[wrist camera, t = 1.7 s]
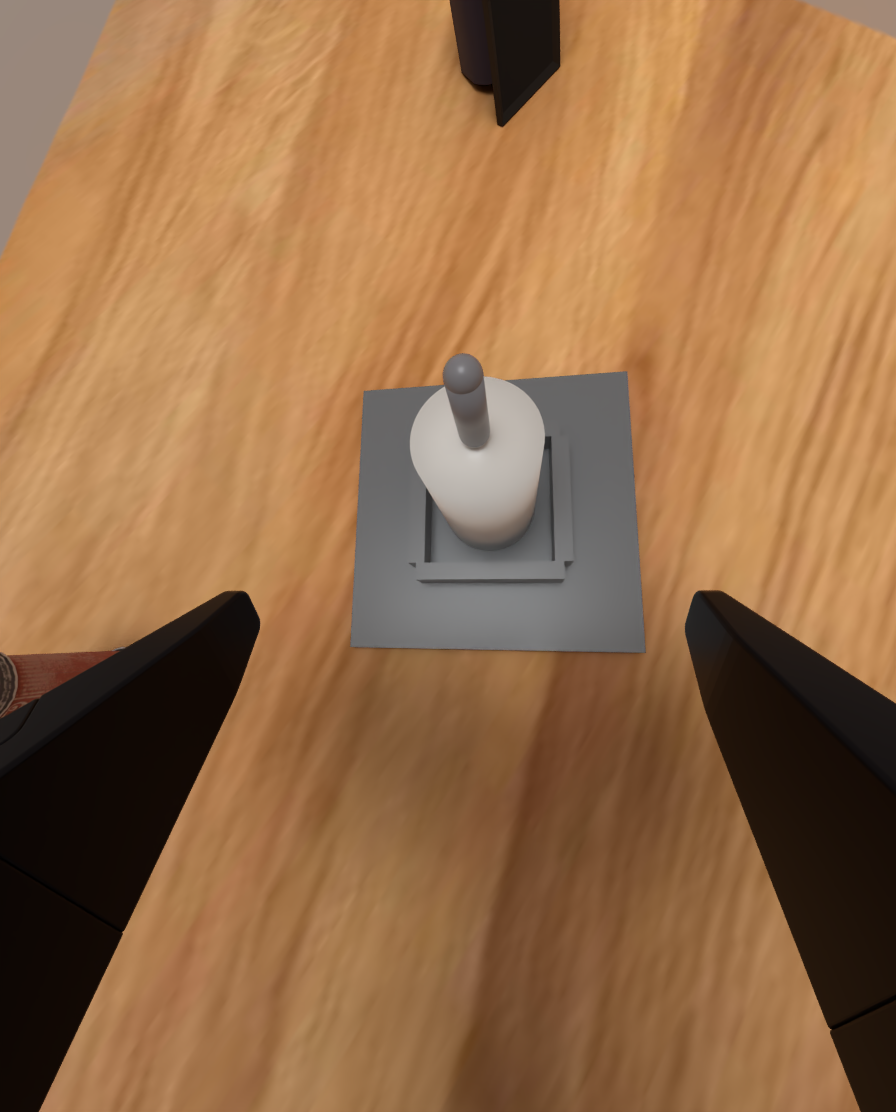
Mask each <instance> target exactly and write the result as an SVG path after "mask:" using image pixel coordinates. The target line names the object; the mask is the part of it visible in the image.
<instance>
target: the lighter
mask: <svg viewBox="0 0 896 1112" xmlns="http://www.w3.org/2000/svg"><path fill="white" fill-rule="evenodd" d="M124 648H126V647H120V648H117V649H114V650H112V651H102V652H79V653H55V654H31V655H8V656H6V655H5V654H3V653H2V652H0V718H2V717H4V716H6V715H8V714H9V713H11V712H13V711H15V710H17V709H18V708H20V707H22V706H24V705H25V704H27V703H29V702H31V701H32V700H34V699H36V698H40V697H41V696H42V695H43V694H45V693H47V692H48V691H50V690H52V689H54V688H56V687H57V686H59V685H61V684H63V683H64V682H66V681H68V680H70V679H71V678H73V677H75V676H77V675H78V674H80V673H82V672H84V671H85V670H87V669H89V668H91V667H93V666H94V665H96V664H98V663H100V662H101V661H103V660H105V659H107V658H108V657H110V656H112V655H114V654H115V653H117V652H119V651H121V650H122V649H124Z"/></svg>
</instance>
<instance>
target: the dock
mask: <svg viewBox="0 0 896 1112" xmlns="http://www.w3.org/2000/svg"><path fill="white" fill-rule="evenodd" d="M505 381H507V382H509V383H511V384H513V385H515V386H517V387H518V388H520V389H521V390H523V391H524V392H525V393H526V394H527V395H528V396H529V397H530V398H531V399H532V401H533V402H534V403H535V405H536V406H537V408H538V410H539V412H540V414H541V417H542V420H543V424H544V431H545V443H544V450H543V456H542V463H541V469H540V476H539V482H538V489H537V495H536V502H535V509H534V515H533V519H532V522H531V525H530V527H529V529H528V530H527V532H526V533H525V534H524V535H523V537H522V538H521V539H519V540H518V541H517V542H516V543H514V544H513V545H511V546H509V547H506V548H504V549H500V550H495V551H484V550H478V549H475V548H472V547H470V546H468V545H467V544H465V543H463V542H462V541H461V540H460V539H459V538H458V537H457V536H456V535H455V533H454V532H453V530H452V529H451V527H450V526H449V524H448V522H447V521H446V519H445V517H444V516H443V514H442V512H441V511H440V509H439V507H438V506H437V504H436V503H435V501H434V499H433V498H432V496H431V494H430V493H429V491H428V489H427V488H426V486H425V484H424V483H423V481H422V480H421V478H420V476H419V475H418V473H417V471H416V469H415V467H414V464H413V461H412V458H411V452H410V435H411V430H412V426H413V423H414V421H415V418H416V416H417V414H418V412H419V411H420V409H421V408H422V406H423V405H424V404H425V402H426V401H427V400H428V399H429V398H430V397H431V396H432V395H433V394H435V393H436V392H437V391H439V390H440V389H441V388H443V387H445V385H438V386H425V387H412V388H398V389H385V390H371V391H364V396H363V415H362V435H361V454H360V473H359V492H358V511H357V530H356V550H355V569H354V588H353V607H352V626H351V645H350V647H378V648H429V649H481V650H532V651H584V652H635V653H646V651H645V636H644V621H643V605H642V590H641V575H640V560H639V544H638V529H637V514H636V498H635V483H634V468H633V452H632V437H631V422H630V407H629V391H628V376H627V371H626V372H612V373H599V374H585V375H572V376H559V377H545V378H532V379H519V380H505Z"/></svg>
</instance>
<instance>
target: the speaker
mask: <svg viewBox="0 0 896 1112" xmlns="http://www.w3.org/2000/svg"><path fill="white" fill-rule="evenodd" d="M450 6H451V12H452V18H453V24H454V30H455V35H456V41H457V47H458V53H459V59H460V65H461V71H462V73H463V74H464V75H465V76H466V77H467V78H469V79H470V80H471V81H472V82H473V83H474V84H480V85H489V84H493V92H494V100H495V108H496V116H497V124H498V125H500V126H503V125H504V124H505V123H506V122H507V121H508V120H509V119H510V118H511V117H512V116H513V115H514V114H515V113H516V112H517V111H518V110H519V109H520V107H521V106H522V105H523V104H524V103H525V102H526V101H527V100H528V99H529V98H530V97H531V96H532V95H533V94H534V93H535V92H536V91H537V90H538V89H539V88H540V87H541V85H542V84H543V83H544V82H545V81H546V80H547V79H548V78H549V77H550V76H551V75H552V74H553V73H554V72H555V71H556V70H557V69H558V68H559V67H560V9H559V0H450Z"/></svg>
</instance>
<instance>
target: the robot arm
mask: <svg viewBox="0 0 896 1112" xmlns="http://www.w3.org/2000/svg"><path fill="white" fill-rule="evenodd" d="M259 630H260V619H259V616H258V614H257V612H256V610H255V608H254V605H253V603H252V601H251V599H250V597H249V595H248V594H247V593H246V592H244V591H225V592H223V593H221V594H219V595H218V596H216V597H214V598H212V599H211V600H209V601H207V602H205V603H203V604H202V605H200V606H198V607H196V608H195V609H193V610H191V611H189V612H188V613H186V614H184V615H182V616H181V617H179V618H177V619H175V620H174V621H172V622H170V623H168V624H166V625H165V626H163V627H161V628H159V629H158V630H156V631H154V632H152V633H151V634H149V635H147V636H145V637H144V638H142V639H140V640H138V641H137V642H135V643H133V644H131V645H130V646H128V647H126V648H124V649H122V650H121V651H119V652H117V653H115V654H114V655H112V656H110V657H108V658H107V659H105V660H103V661H101V662H100V663H98V664H96V665H94V666H93V667H91V668H89V669H87V670H85V671H84V672H82V673H80V674H78V675H77V676H75V677H73V678H71V679H70V680H68V681H66V682H64V683H63V684H61V685H59V686H57V687H56V688H54V689H52V690H50V691H48V692H47V693H45V694H43V695H42V696H41V697H40V698H36V699H34V700H32V701H31V702H29V703H27V704H25V705H24V706H22V707H20V708H18V709H17V710H15V711H13V712H11V713H9V714H8V715H6V716H4V717H2V718H0V1112H39V1110H40V1108H41V1106H42V1104H43V1102H44V1100H45V1098H46V1096H47V1094H48V1092H49V1089H50V1087H51V1085H52V1083H53V1081H54V1079H55V1077H56V1075H57V1073H58V1070H59V1068H60V1066H61V1064H62V1062H63V1060H64V1058H65V1056H66V1054H67V1051H68V1049H69V1047H70V1045H71V1043H72V1041H73V1039H74V1037H75V1035H76V1032H77V1030H78V1028H79V1026H80V1024H81V1022H82V1020H83V1018H84V1016H85V1013H86V1011H87V1009H88V1007H89V1005H90V1003H91V1001H92V999H93V997H94V994H95V992H96V990H97V988H98V986H99V984H100V982H101V980H102V977H103V975H104V973H105V971H106V969H107V967H108V965H109V963H110V961H111V958H112V956H113V954H114V952H115V950H116V948H117V946H118V944H119V942H120V939H121V937H122V935H123V933H122V932H123V931H124V930H125V928H126V926H127V924H128V922H129V920H130V918H131V916H132V914H133V911H134V909H135V907H136V905H137V903H138V901H139V899H140V897H141V895H142V892H143V890H144V888H145V886H146V884H147V882H148V880H149V878H150V876H151V873H152V871H153V869H154V867H155V865H156V863H157V861H158V859H159V857H160V854H161V852H162V850H163V848H164V846H165V844H166V842H167V840H168V838H169V835H170V833H171V831H172V829H173V827H174V825H175V823H176V821H177V819H178V817H179V814H180V812H181V810H182V808H183V806H184V804H185V802H186V800H187V798H188V795H189V793H190V791H191V789H192V787H193V785H194V783H195V781H196V779H197V776H198V774H199V772H200V770H201V768H202V766H203V764H204V762H205V760H206V757H207V755H208V753H209V751H210V749H211V747H212V745H213V743H214V741H215V738H216V736H217V734H218V732H219V730H220V728H221V726H222V724H223V722H224V719H225V717H226V715H227V713H228V711H229V709H230V707H231V705H232V703H233V700H234V698H235V696H236V694H237V691H238V689H239V686H240V683H241V681H242V678H243V675H244V672H245V670H246V667H247V664H248V661H249V658H250V655H251V653H252V650H253V647H254V644H255V641H256V639H257V636H258V633H259ZM685 635H686V639H687V643H688V647H689V651H690V655H691V658H692V662H693V666H694V670H695V674H696V678H697V682H698V686H699V690H700V694H701V697H702V701H703V704H704V708H705V711H706V714H707V717H708V719H709V722H710V725H711V727H712V730H713V733H714V735H715V738H716V740H717V743H718V745H719V748H720V751H721V753H722V756H723V758H724V761H725V763H726V766H727V769H728V771H729V774H730V776H731V779H732V781H733V784H734V787H735V789H736V792H737V794H738V797H739V799H740V802H741V805H742V807H743V810H744V812H745V815H746V817H747V820H748V822H749V825H750V828H751V830H752V833H753V835H754V838H755V840H756V843H757V846H758V848H759V851H760V853H761V856H762V858H763V861H764V864H765V866H766V869H767V871H768V874H769V876H770V879H771V882H772V884H773V887H774V889H775V892H776V894H777V897H778V900H779V902H780V905H781V907H782V910H783V912H784V915H785V918H786V920H787V923H788V925H789V928H790V930H791V933H792V936H793V938H794V941H795V943H796V946H797V948H798V951H799V953H800V956H801V959H802V961H803V964H804V966H805V969H806V971H807V974H808V977H809V979H810V982H811V984H812V987H813V989H814V992H815V995H816V997H817V1000H818V1002H819V1005H820V1007H821V1010H822V1013H823V1015H824V1018H825V1020H826V1023H827V1025H828V1027H829V1028H830V1029H832V1030H831V1031H830V1034H831V1037H832V1039H833V1042H834V1044H835V1047H836V1050H837V1052H838V1055H839V1057H840V1060H841V1062H842V1065H843V1068H844V1070H845V1073H846V1075H847V1078H848V1080H849V1083H850V1086H851V1088H852V1091H853V1093H854V1096H855V1098H856V1101H857V1104H858V1106H859V1109H860V1111H861V1112H896V703H894V702H893V701H891V700H890V699H888V698H887V697H885V696H883V695H882V694H880V693H879V692H877V691H876V690H874V689H873V688H871V687H870V686H868V685H866V684H865V683H863V682H862V681H860V680H859V679H857V678H856V677H854V676H853V675H851V674H850V673H848V672H846V671H845V670H843V669H842V668H840V667H839V666H837V665H836V664H834V663H833V662H831V661H829V660H828V659H826V658H825V657H823V656H822V655H820V654H819V653H817V652H816V651H814V650H812V649H811V648H809V647H808V646H806V645H805V644H803V643H802V642H800V641H799V640H797V639H795V638H794V637H792V636H791V635H789V634H788V633H786V632H785V631H783V630H782V629H780V628H779V627H777V626H775V625H774V624H772V623H771V622H769V621H768V620H766V619H765V618H763V617H762V616H760V615H758V614H757V613H755V612H754V611H752V610H751V609H749V608H748V607H746V606H745V605H743V604H741V603H740V602H738V601H737V600H735V599H734V598H732V597H731V596H729V595H728V594H726V593H724V592H722V591H718V590H701V591H698V592H696V593H695V594H694V596H693V599H692V602H691V606H690V609H689V613H688V616H687V619H686V623H685Z"/></svg>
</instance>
